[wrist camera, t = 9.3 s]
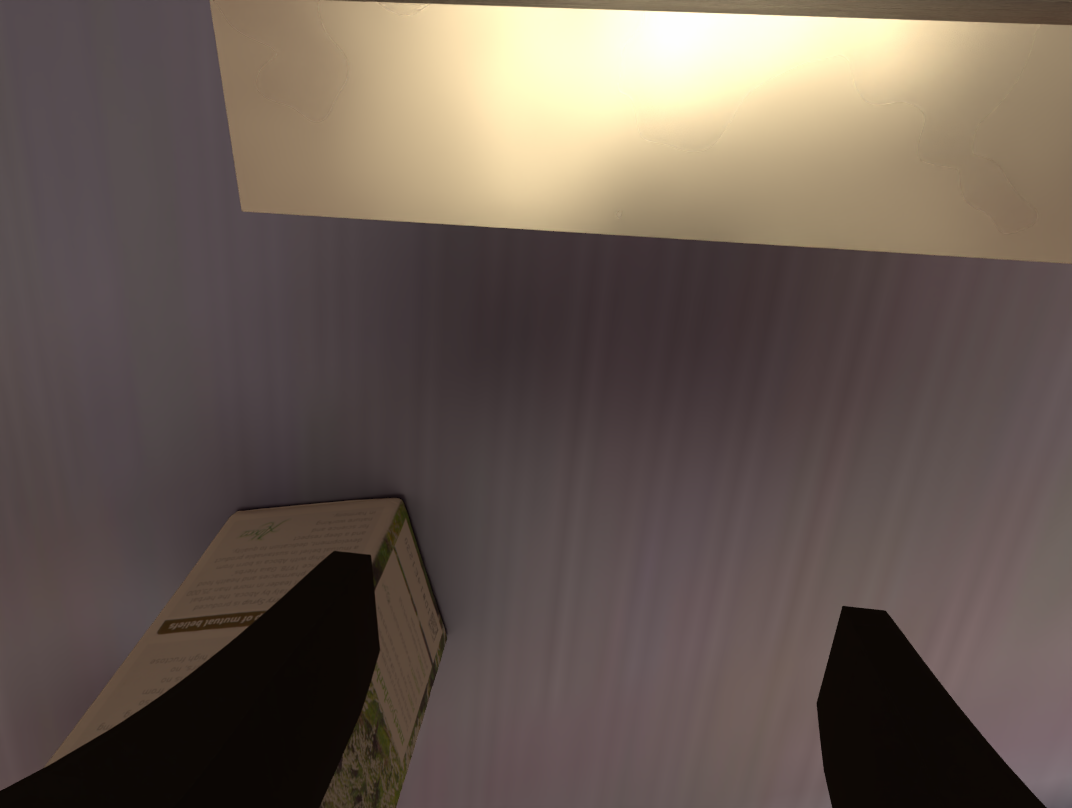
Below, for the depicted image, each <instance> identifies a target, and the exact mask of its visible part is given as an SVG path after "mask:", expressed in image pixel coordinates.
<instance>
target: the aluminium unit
mask: <svg viewBox="0 0 1072 808" xmlns="http://www.w3.org/2000/svg"><path fill="white" fill-rule="evenodd" d="M210 6H211V12H212V19H213V25H214V32H215V38H216V45H217V52H218V58H219V65H220V71H221V78H222V84H223V91H224V97H225V104H226V111H227V117H228V124H229V130H230V137H231V143H232V150H233V157H234V163H235V170H236V176H237V183H238V189H239V196H240V203H241V209H242V211H245V212H261V213H277V214H293V215H308V216H324V217H340V218H356V219H372V220H388V221H404V222H419V223H435V224H451V225H467V226H483V227H499V228H514V229H530V230H546V231H562V232H578V233H594V234H610V235H625V236H641V237H657V238H673V239H689V240H705V241H720V242H736V243H752V244H768V245H784V246H800V247H816V248H831V249H847V250H863V251H879V252H895V253H911V254H927V255H942V256H958V257H974V258H990V259H1006V260H1022V261H1037V262H1053V263H1069V264H1072V0H210Z"/></svg>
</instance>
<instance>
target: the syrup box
mask: <svg viewBox="0 0 1072 808" xmlns="http://www.w3.org/2000/svg"><path fill="white" fill-rule="evenodd" d="M333 551H341V552H350V553H359V554H369V555H371V559H372V570H373V580H374V591H375V601H376V612H377V622H378V633H379V643H380V652H379V656H378V659H377V663H376V666H375V670H374V673H373V676H372V680H371V683H370V687H369V690H368V693H367V696H366V699H365V702H364V706H363V709H362V712H361V714H360V716H359V719H358V721H357V723H356V726H355V728H354V730H353V733H352V735H351V737H350V739H349V742H348V744H347V746H346V749H345V751H344V753H343V755H342V758H341V760H340V762H339V765H338V767H337V769H336V771H335V774H334V776H333V778H332V780H331V783H330V785H329V787H328V789H327V792H326V794H325V796H324V798H323V801H322V803H321V805H320V807H319V808H396V806H397V802H398V799H399V795H400V792H401V789H402V786H403V782H404V779H405V776H406V773H407V770H408V767H409V763H410V760H411V757H412V754H413V750H414V747H415V743H416V740H417V736H418V733H419V730H420V727H421V724H422V721H423V718H424V713H425V710H426V707H427V704H428V700H429V696H430V692H431V689H432V686H433V683H434V680H435V676H436V674H437V671H438V667H439V663H440V661H441V657H442V653H443V650H444V647H445V643H446V640H447V636H446V632H445V628H444V625H443V622H442V619H441V616H440V613H439V611H438V607H437V604H436V601H435V598H434V595H433V593H432V589H431V586H430V583H429V580H428V577H427V574H426V571H425V568H424V565H423V562H422V558H421V555H420V552H419V549H418V546H417V543H416V539H415V536H414V533H413V530H412V527H411V524H410V520H409V517H408V514H407V511H406V508H405V506H404V503H403V501H402V500H401V499H399V498H384V499H367V500H350V501H338V502H328V503H316V504H306V505H295V506H285V507H275V508H264V509H254V510H246V511H237V512H236V513H235V514H233V515H232V516H230V518H229V519H228V520H227V522H226V523H225V524H224V526H223V527H222V529H221V530H220V531H219V533H218V534H217V535H216V537H215V538H214V540H213V541H212V542H211V544H210V545H209V547H208V548H207V550H206V551H205V552H204V554H203V555H202V557H201V558H200V559H199V561H198V562H197V564H196V565H195V566H194V568H193V569H192V570H191V572H190V573H189V575H188V576H187V577H186V579H185V580H184V582H183V583H182V584H181V586H180V587H179V588H178V590H177V591H176V592H175V594H174V595H173V596H172V598H171V599H170V600H169V602H168V603H167V604H166V606H165V607H164V608H163V610H162V611H161V612H160V614H159V615H158V617H157V618H156V619H155V621H154V622H153V623H152V625H151V626H150V627H149V629H148V630H147V631H146V633H145V634H144V635H143V637H142V638H141V639H140V641H139V642H138V643H137V645H136V646H135V647H134V649H133V650H132V651H131V653H130V654H129V655H128V657H127V658H126V659H125V661H124V662H123V663H122V665H121V666H120V667H119V669H118V670H117V671H116V673H115V674H114V675H113V677H112V678H111V679H110V681H109V682H108V683H107V685H106V686H105V687H104V689H103V690H102V691H101V693H100V694H99V695H98V697H97V698H96V699H95V701H94V702H93V703H92V705H91V706H90V707H89V709H88V710H87V711H86V713H85V714H84V715H83V717H82V718H81V719H80V721H79V722H78V723H77V725H76V726H75V727H74V729H73V730H72V731H71V733H70V734H69V735H68V737H67V738H66V739H65V741H64V742H63V743H62V745H61V746H60V747H59V748H58V750H57V751H56V752H55V754H54V755H53V756H52V758H51V759H50V760H49V762H48V763H47V764H46V766H45V767H47V766H48V765H50V764H52V763H53V762H55V761H57V760H59V759H60V758H62V757H64V756H65V755H67V754H69V753H71V752H72V751H74V750H76V749H77V748H79V747H81V746H82V745H84V744H86V743H88V742H89V741H91V740H93V739H94V738H96V737H98V736H99V735H101V734H103V733H105V732H106V731H108V730H110V729H111V728H113V727H114V726H116V725H118V724H119V723H121V722H122V721H124V720H125V719H127V718H128V717H130V716H131V715H133V714H134V713H136V712H137V711H139V710H140V709H142V708H143V707H145V706H146V705H148V704H149V703H151V702H152V701H154V700H155V699H157V698H158V697H159V696H161V695H162V694H164V693H165V692H166V691H168V690H169V689H170V688H172V687H173V686H175V685H176V684H177V683H179V682H180V681H181V680H183V679H184V678H185V677H187V676H188V675H189V674H190V673H192V672H193V671H194V670H196V669H197V668H198V667H199V666H201V665H202V664H203V663H204V662H206V661H207V660H208V659H210V658H211V657H212V656H213V655H215V654H216V653H217V652H218V651H220V650H221V649H222V648H224V647H225V646H226V645H227V644H228V643H230V642H231V641H232V640H233V639H234V638H236V637H237V636H238V635H239V634H240V633H241V632H243V631H244V630H245V629H246V628H247V627H248V626H250V625H251V624H252V623H253V622H254V621H255V620H257V619H258V618H259V617H260V616H261V615H262V614H264V613H265V612H266V611H267V610H268V609H269V608H270V607H272V606H273V605H274V604H275V603H276V602H277V601H278V600H279V599H280V598H282V597H283V596H284V595H285V594H286V593H287V592H288V591H289V590H290V589H292V588H293V587H294V586H295V585H296V584H297V583H298V582H299V581H300V580H301V579H303V578H304V577H305V576H306V575H307V574H308V573H309V572H310V571H311V570H312V569H313V568H315V567H316V566H317V565H318V564H319V563H320V562H321V561H322V560H324V559H325V558H326V557H327V556H328V555H329V554H331V553H332V552H333ZM45 767H44V768H45Z"/></svg>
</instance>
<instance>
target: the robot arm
mask: <svg viewBox="0 0 1072 808" xmlns="http://www.w3.org/2000/svg"><path fill="white" fill-rule="evenodd" d="M379 652H380V643H379V633H378V622H377V612H376V601H375V591H374V580H373V570H372V559H371V555H369V554H359V553H350V552H341V551H333V552H332V553H331V554H329V555H328V556H327V557H326V558H325V559H324V560H322V561H321V562H320V563H319V564H318V565H317V566H316V567H315V568H313V569H312V570H311V571H310V572H309V573H308V574H307V575H306V576H305V577H304V578H303V579H301V580H300V581H299V582H298V583H297V584H296V585H295V586H294V587H293V588H292V589H290V590H289V591H288V592H287V593H286V594H285V595H284V596H283V597H282V598H280V599H279V600H278V601H277V602H276V603H275V604H274V605H273V606H272V607H270V608H269V609H268V610H267V611H266V612H265V613H264V614H262V615H261V616H260V617H259V618H258V619H257V620H255V621H254V622H253V623H252V624H251V625H250V626H248V627H247V628H246V629H245V630H244V631H243V632H241V633H240V634H239V635H238V636H237V637H236V638H234V639H233V640H232V641H231V642H230V643H228V644H227V645H226V646H225V647H224V648H222V649H221V650H220V651H218V652H217V653H216V654H215V655H213V656H212V657H211V658H210V659H208V660H207V661H206V662H204V663H203V664H202V665H201V666H199V667H198V668H197V669H196V670H194V671H193V672H192V673H190V674H189V675H188V676H187V677H185V678H184V679H183V680H181V681H180V682H179V683H177V684H176V685H175V686H173V687H172V688H170V689H169V690H168V691H166V692H165V693H164V694H162V695H161V696H159V697H158V698H157V699H155V700H154V701H152V702H151V703H149V704H148V705H146V706H145V707H143V708H142V709H140V710H139V711H137V712H136V713H134V714H133V715H131V716H130V717H128V718H127V719H125V720H124V721H122V722H121V723H119V724H118V725H116V726H114V727H113V728H111V729H110V730H108V731H106V732H105V733H103V734H101V735H99V736H98V737H96V738H94V739H93V740H91V741H89V742H88V743H86V744H84V745H82V746H81V747H79V748H77V749H76V750H74V751H72V752H71V753H69V754H67V755H65V756H64V757H62V758H60V759H59V760H57V761H55V762H53V763H52V764H50V765H48V766H47V767H45V768H43V769H41V770H39V771H37V772H36V773H34V774H32V775H30V776H28V777H26V778H24V779H22V780H20V781H18V782H17V783H15V784H13V785H11V786H9V787H7V788H5V789H3V790H1V791H0V808H319V807H320V805H321V803H322V801H323V798H324V796H325V794H326V792H327V789H328V787H329V785H330V783H331V780H332V778H333V776H334V774H335V771H336V769H337V767H338V765H339V762H340V760H341V758H342V755H343V753H344V751H345V749H346V746H347V744H348V742H349V739H350V737H351V735H352V733H353V730H354V728H355V726H356V723H357V721H358V719H359V716H360V714H361V712H362V709H363V706H364V702H365V699H366V696H367V693H368V690H369V687H370V683H371V680H372V676H373V673H374V670H375V666H376V663H377V659H378V656H379ZM817 711H818V721H819V731H820V741H821V750H822V758H823V766H824V773H825V777H826V782H827V786H828V791H829V795H830V799H831V804H832V808H1046V807H1045V806H1044V804H1043V803H1042V802H1041V801H1040V800H1039V799H1038V798H1037V797H1036V796H1035V795H1034V794H1033V793H1032V792H1031V791H1030V790H1029V788H1028V787H1027V786H1026V785H1025V784H1024V783H1023V782H1022V781H1021V779H1020V778H1019V777H1018V776H1017V775H1016V774H1015V773H1014V772H1013V771H1012V769H1011V768H1010V767H1009V766H1008V765H1007V764H1006V763H1005V762H1004V760H1003V759H1002V758H1001V757H1000V756H999V755H998V753H997V752H996V751H995V750H994V749H993V748H992V746H991V745H990V744H989V743H988V742H987V741H986V739H985V738H984V737H983V736H982V734H981V733H980V732H979V731H978V730H977V728H976V727H975V726H974V725H973V723H972V722H971V721H970V720H969V718H968V717H967V716H966V715H965V714H964V712H963V711H962V710H961V709H960V707H959V706H958V705H957V704H956V703H955V701H954V700H953V699H952V697H951V696H950V695H949V694H948V692H947V691H946V690H945V688H944V687H943V686H942V685H941V683H940V682H939V681H938V679H937V678H936V677H935V675H934V674H933V673H932V671H931V670H930V669H929V668H928V666H927V665H926V664H925V662H924V661H923V660H922V658H921V657H920V656H919V654H918V653H917V652H916V650H915V649H914V648H913V646H912V645H911V644H910V642H909V641H908V640H907V638H906V637H905V635H904V634H903V633H902V631H901V630H900V629H899V627H898V626H897V625H896V623H895V622H894V621H893V619H892V618H891V617H890V616H889V614H888V613H887V612H886V611H884V610H874V609H865V608H856V607H847V606H842V610H841V614H840V618H839V621H838V625H837V629H836V633H835V636H834V640H833V644H832V648H831V651H830V655H829V659H828V663H827V666H826V670H825V674H824V678H823V681H822V685H821V689H820V693H819V697H818V700H817Z"/></svg>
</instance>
